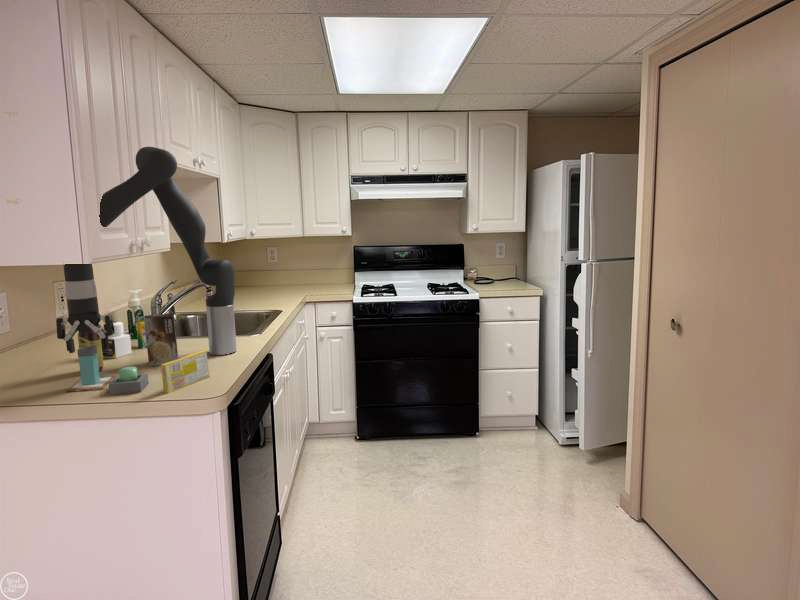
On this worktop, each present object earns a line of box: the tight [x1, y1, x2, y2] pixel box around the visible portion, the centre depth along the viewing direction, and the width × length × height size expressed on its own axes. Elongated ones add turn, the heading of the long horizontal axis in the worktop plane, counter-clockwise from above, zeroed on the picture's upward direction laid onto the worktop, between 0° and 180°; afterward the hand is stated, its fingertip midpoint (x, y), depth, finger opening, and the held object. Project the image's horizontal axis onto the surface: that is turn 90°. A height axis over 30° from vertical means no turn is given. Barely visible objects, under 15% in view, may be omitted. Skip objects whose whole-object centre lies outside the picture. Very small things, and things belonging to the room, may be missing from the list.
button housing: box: [108, 373, 150, 395], centre depth 148 cm, size 8×8×3 cm
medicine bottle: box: [102, 321, 133, 359], centre depth 185 cm, size 7×7×12 cm
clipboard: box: [65, 375, 117, 392], centre depth 152 cm, size 11×10×1 cm
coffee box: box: [143, 313, 179, 367], centre depth 174 cm, size 9×6×16 cm
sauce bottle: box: [77, 330, 104, 372], centre depth 165 cm, size 6×6×20 cm
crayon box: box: [135, 315, 147, 349], centre depth 199 cm, size 7×3×12 cm, turn 150°
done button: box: [118, 366, 139, 382], centre depth 147 cm, size 5×5×4 cm
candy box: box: [160, 350, 210, 394], centre depth 151 cm, size 16×2×8 cm, turn 159°
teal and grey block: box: [77, 346, 101, 385], centre depth 151 cm, size 4×4×10 cm
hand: (88, 351), depth 151 cm, fingers open, 8 cm apart
